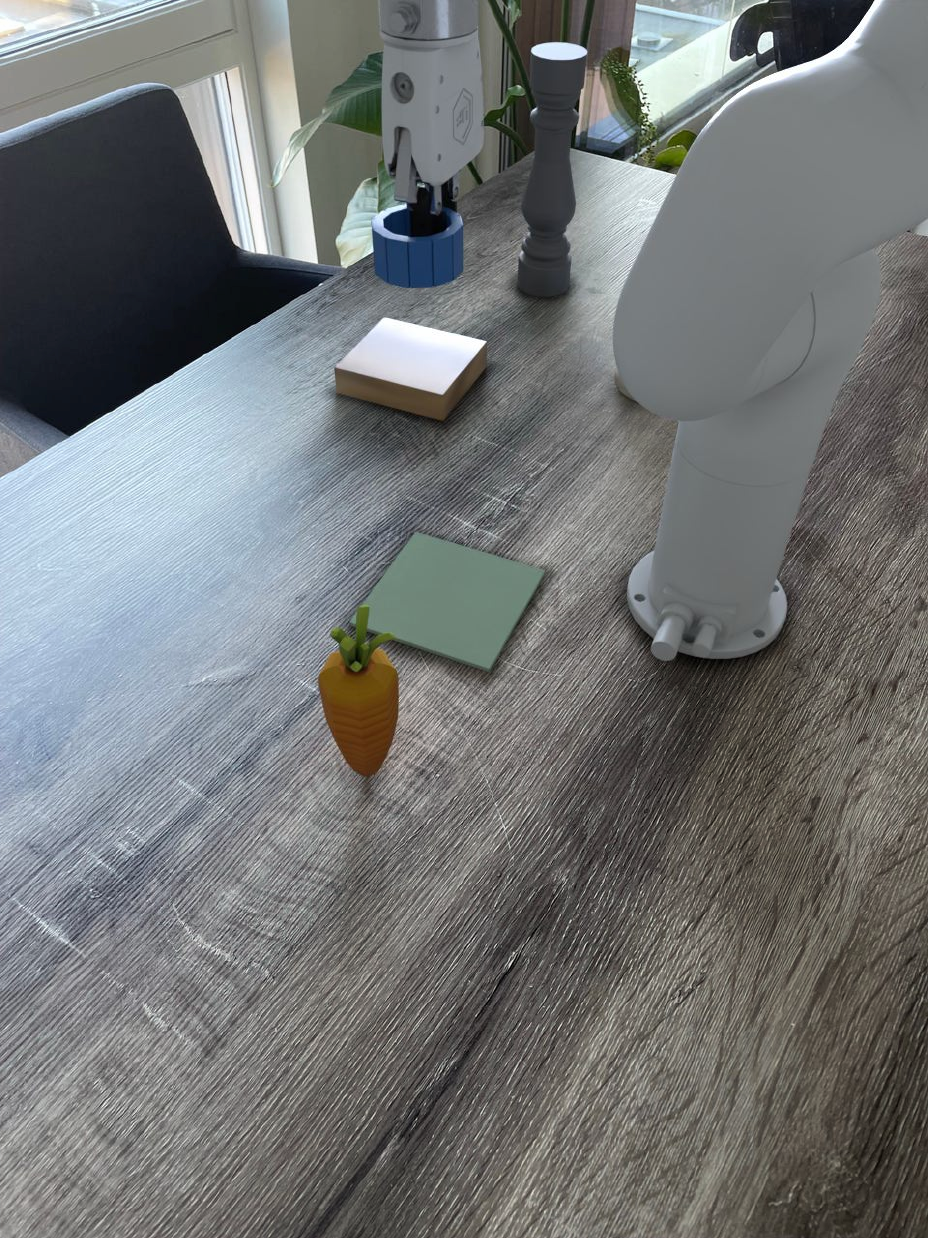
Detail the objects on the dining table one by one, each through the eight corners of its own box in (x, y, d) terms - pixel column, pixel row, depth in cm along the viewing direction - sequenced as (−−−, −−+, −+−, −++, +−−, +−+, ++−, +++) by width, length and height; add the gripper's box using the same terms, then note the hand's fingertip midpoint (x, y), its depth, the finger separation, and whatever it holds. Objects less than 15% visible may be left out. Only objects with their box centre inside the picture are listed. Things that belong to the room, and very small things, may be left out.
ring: (439, 295, 83) (438, 248, 80) (358, 277, 85) (355, 231, 82) (476, 257, 88) (477, 212, 85) (399, 241, 90) (397, 197, 87)
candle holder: (508, 277, 119) (517, 45, 101) (553, 267, 121) (570, 38, 103) (532, 301, 115) (546, 64, 98) (579, 290, 117) (601, 55, 99)
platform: (443, 421, 98) (442, 395, 96) (336, 393, 102) (333, 367, 100) (486, 366, 106) (487, 341, 103) (385, 341, 109) (384, 316, 107)
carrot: (366, 733, 71) (351, 581, 61) (418, 770, 69) (412, 618, 58) (316, 777, 69) (291, 626, 58) (369, 817, 66) (353, 667, 56)
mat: (489, 672, 75) (489, 669, 75) (349, 625, 79) (348, 622, 78) (545, 573, 83) (545, 570, 83) (415, 534, 86) (415, 531, 86)
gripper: (427, 47, 69) (434, 296, 82) (514, -8, 79) (507, 222, 92) (333, 34, 71) (354, 279, 84) (429, -18, 81) (434, 208, 94)
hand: (434, 248), depth 88 cm, fingers closed on ring, 1 cm apart
